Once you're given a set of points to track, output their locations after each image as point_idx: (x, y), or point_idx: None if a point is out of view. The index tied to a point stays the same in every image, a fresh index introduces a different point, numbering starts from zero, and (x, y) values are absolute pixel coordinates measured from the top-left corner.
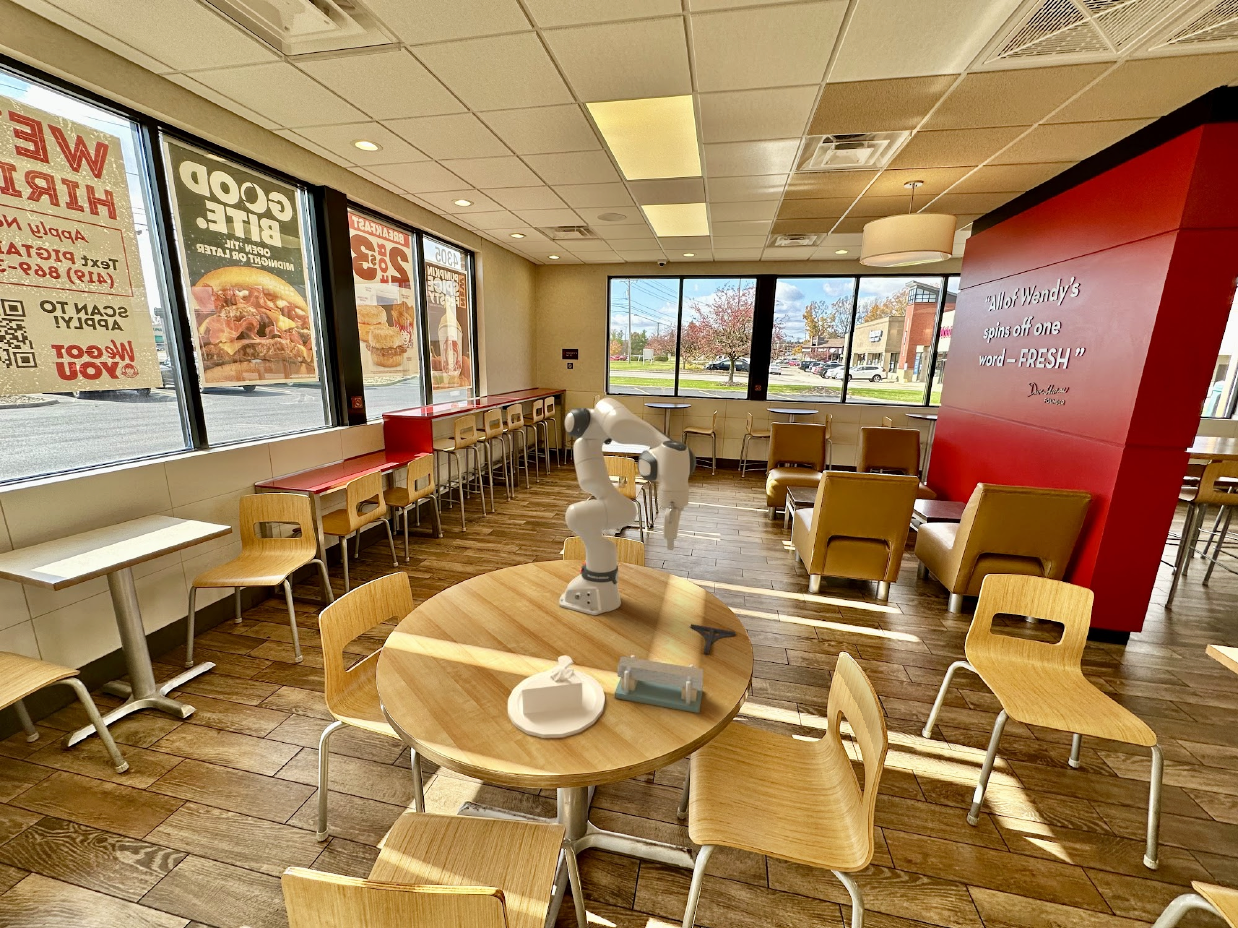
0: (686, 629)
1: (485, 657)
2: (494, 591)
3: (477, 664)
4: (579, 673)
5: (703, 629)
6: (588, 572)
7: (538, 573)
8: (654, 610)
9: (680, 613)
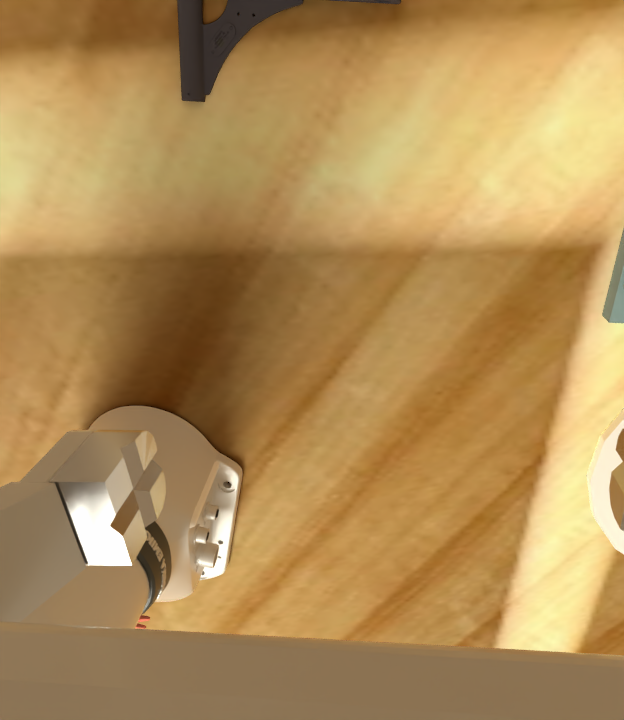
0: (221, 119)
1: None
2: None
3: None
4: (610, 447)
5: (201, 32)
6: (151, 604)
7: None
8: (124, 278)
9: (101, 165)
